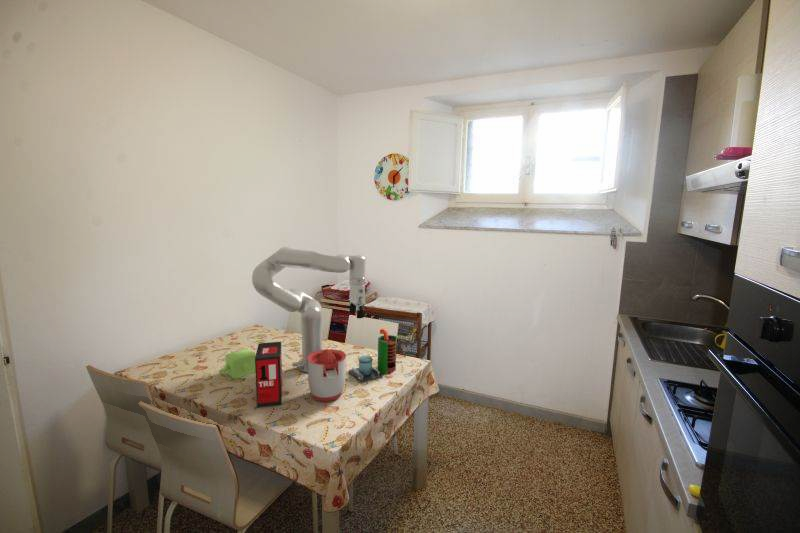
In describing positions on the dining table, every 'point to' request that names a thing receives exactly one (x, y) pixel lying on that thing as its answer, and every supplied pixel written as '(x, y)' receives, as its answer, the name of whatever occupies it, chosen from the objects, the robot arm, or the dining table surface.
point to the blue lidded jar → (365, 365)
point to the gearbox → (239, 363)
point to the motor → (386, 352)
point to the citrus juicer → (326, 374)
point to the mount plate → (365, 378)
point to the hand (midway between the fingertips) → (356, 315)
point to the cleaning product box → (268, 374)
